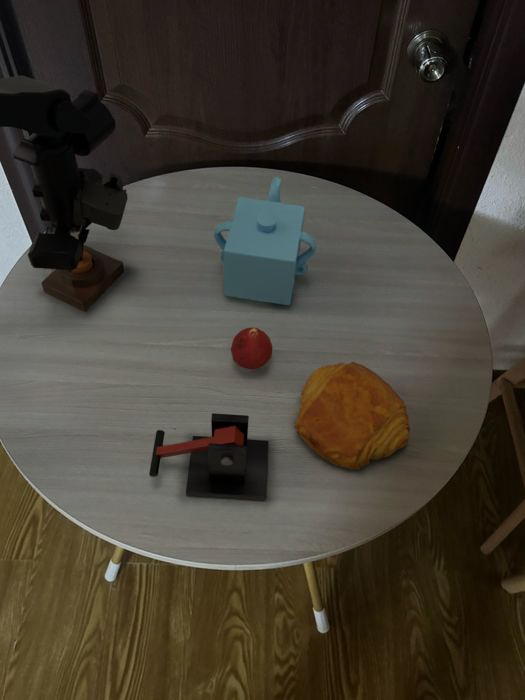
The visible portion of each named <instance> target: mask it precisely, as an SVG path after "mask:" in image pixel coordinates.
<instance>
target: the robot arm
mask: <svg viewBox="0 0 525 700" xmlns="http://www.w3.org/2000/svg"><path fill="white" fill-rule="evenodd" d="M115 119H116V118H115V117H114V116H113V115H112V113H111V111H110V109H109V108H108V107H107V106H106V104H104V103H103V101H101V100H100V97H99V93H98V92H95V91H91V90H89V89H86V88H85V89H84V90H83V91H81V92H80V93H79V95H77V97H76V98H75V99H73V100H72V99H71V93H70V92H69V91H68V90H66V89H63V88H60V87H58V86H54V85H51V84H48V83H46V82H42V81H39V80H37V79H33V78H32V77H31V78H30V77H28V76H25V75H14V76H9V77H3V78H1V79H0V128H14V129H18V130H21V131H25V132H28V133H32V134H30V136H28V137H27V138H24V137H22V138H21V139H20V143H19V144H18V146H17V147H16V148H15V149H14V152H13V154H12V158H13V159H14V160H16V161H18V162H22V163H25V164H27V165H30V168H31V171H32V175H33V178H34V181H35V183H34V184H33V188H32V191H31V192H32V194H33V197H34V198H40V201H41V205H42V208H41V209H40V213H39V218H40V220H41V221H44V222H50V225H49V226H47V227H46V230H45V232H39V233H37V235H35V236H34V237H33V240H32V242H31V245H30V247H29V250H28V253H27V258H28V261H29V263H30V265H31V266H32V267H33V269H43V270H55V269H57V270H74V269H76V268H77V267H78V263H79V261H82V258H83V250H84V245H85V244H86V242H87V240H88V236H89V233H90V231H91V229H90V228H88V227H89V226H91V224H94V225H98V226H101V227H104V228H106V229H107V230H109V231H117V230H119V229H120V226H121V224H122V219H123V217H124V213H125V210H126V206H127V202H128V193H127V189H126V188H124V183H123V179H122V177H121V176H120V175H118V174H116V173H111V172H110V173H109V174H108V175H106V176H105V177H104V178H103V177H102V174H101V173H100V171H98V170H97V169H95V168H86V167H79V166H78V162H77V156H79V157H87V156H89V155H90V154H91V153H93V152H94V151H95V150H96V149H97V148H98V147H99V146H100V145H101V144H103V143H104V142H105V141H106V140H107V139H108V138H109V137H111V135H112V134H113V133H114V132H115V131H116V120H115Z"/></svg>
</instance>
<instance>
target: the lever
mask: <svg viewBox="0 0 525 700" xmlns="http://www.w3.org/2000/svg"><path fill="white" fill-rule="evenodd" d="M165 435H166V432H165V430H163V429H157V430H156V431H155V436H154V437H155V438H154V442H153V449H152V455H151V461H150V466H149V472H148V474H149V476H150V477H153V478H157V477H158V476H159V471H160V465H161V459H163V458H164V459H165V458H169V457H175V456H181V455H186V454H191V453H193V452H198V451H204V450H208V445H209V443H213V444H229V445H243V440H244V434H243V433H242V432H241V431H240V430H239V429H238V428H237V427H236V426H231V427H225V428H220V429H215V432H214V437H212V436H209V437H210V438H204V439H199V440H193V441H192V440H187V441H184V442H177V443H172V444H167V445H164V441H165Z"/></svg>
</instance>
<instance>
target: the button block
mask: <svg viewBox="0 0 525 700" xmlns="http://www.w3.org/2000/svg"><path fill="white" fill-rule="evenodd" d="M83 251H85V252H87V253H89V254H90V255H91V259H92V263H93V268H92V269H91V270H90V271H89V272H86V273H84V274H74V273H72V272H70V270H57V269H53V271H52V272H51V273H50V274H49V275H48V276H46V278H44V279H43V280H42V281H41V282H40V284H41V287H42V289H43V292H44V293H45V294H47V295H49V296H51V297H53V298H55V299H57V300H59V301H61V302H63V303H65V304H68V305H69V306H71V307H74V308H75V309H78V310H79V311H81V312H84V313H87V312H88V310H89V309H90V308H91V307H93V305H95V304H96V302H97V301H98V300H99V299H100V298H101V297H102V296H103V295H104V294H105V293H106V292H107V291H108V290H109V289H110V287H112V285H114V283H116V282H117V280H119V279H120V278H121V277H122V275H123V274H124V273H125V266H124V262H123V261H122V260H118V259H116V258H115V257H112V256H110V255H107V254H106V253H104V252H101V251H99V250H97V249H95V248H93V247H90V246H88V245H86V244H84V250H83Z"/></svg>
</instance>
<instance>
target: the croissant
mask: <svg viewBox="0 0 525 700" xmlns="http://www.w3.org/2000/svg"><path fill="white" fill-rule="evenodd" d="M300 394H301V398H300V405H301V406H300V408H299V410H298V414H297V421H295V422H294V425H293V427H294V428H295V429H296V432H297V433H298V434H299V435H300V437H301V439H302V440H303V441H304V442H305V443H306V445H307V446H309V448H310V449H312V450H313V451H314V452H315V453H316V454H317V455H319V456H320V457H321V458H323V459H325V460H326V461H328V462H330V463H332V464H333V465H335V466H338V467H342V468H347V469H350V470H358V471H359V470H361V468H362V467H366V466H367V465H369V464H370V462H371V460H382V458H383V459H385V458H387V457H391V455H392V454H394V453H395V452H396V451H397V450H398V449H402V448H404V447H405V446H406V445H407V444H408V442H409V440H410V439H409V437H410V432H411V428H410V423H409V422H410V421H409V420H410V419H409V414H408V409H407V404H406V403H405V401H404V400H403V398H401V397H400V395H398V393H397V391H396V390H394V388H393V387H392V385H390V384H389V383H388V382H386V381H385V380H384V379H383V377H381V376H380V375H379V374H377V372H375V371H373V370H372V369H370V368H369V367H367V366H365V365H363V364H361V363H358V362H355V361H351V362H349V363H345V362H338V363H337V364H332V365H331V364H328V365H325V366H320V367H318V368H317V369H315V370H314V371H313V372H312V374H310V376H309V378H308V379H307V381H306V382H305V384H304V386H303V387H302V390H301V393H300Z"/></svg>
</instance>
